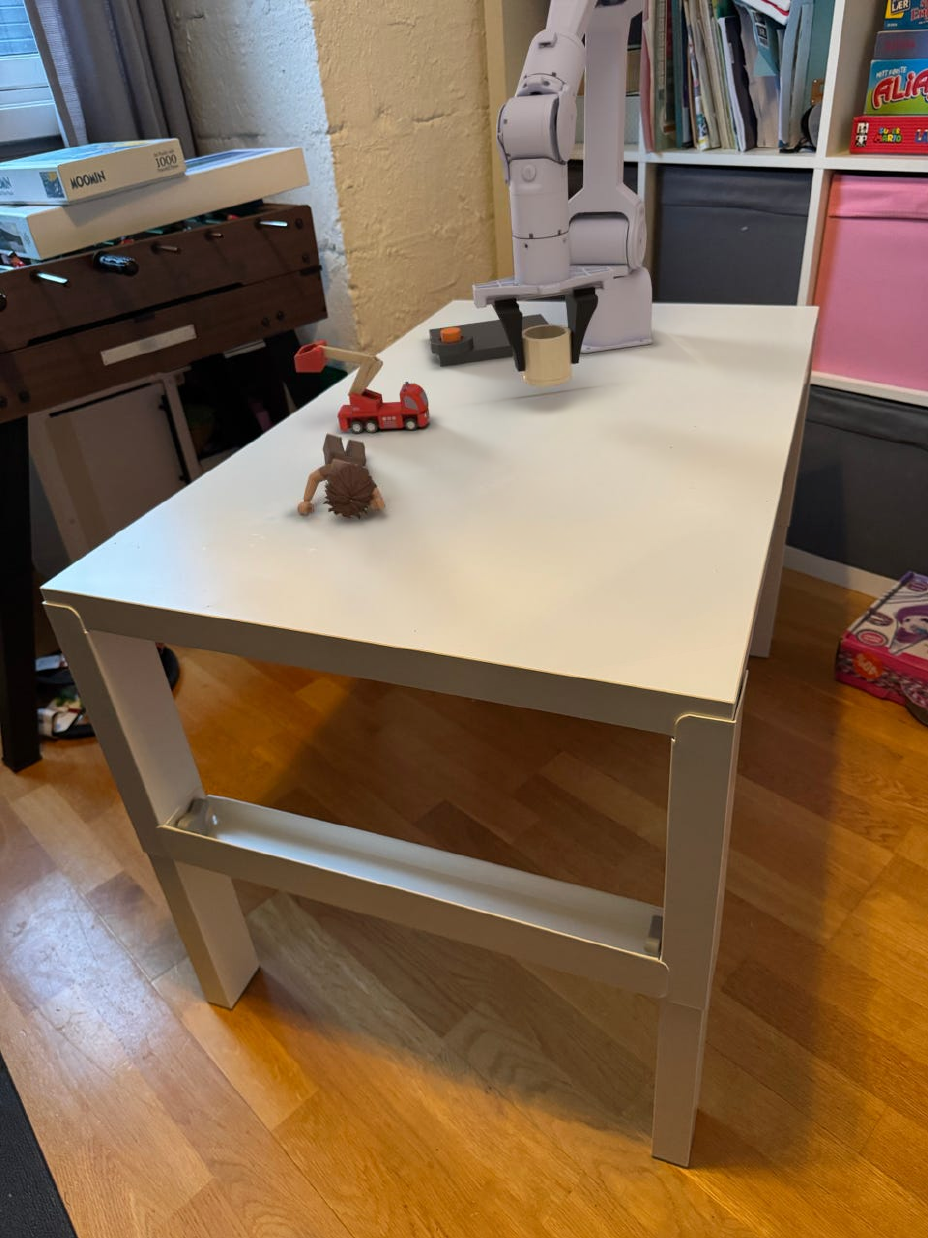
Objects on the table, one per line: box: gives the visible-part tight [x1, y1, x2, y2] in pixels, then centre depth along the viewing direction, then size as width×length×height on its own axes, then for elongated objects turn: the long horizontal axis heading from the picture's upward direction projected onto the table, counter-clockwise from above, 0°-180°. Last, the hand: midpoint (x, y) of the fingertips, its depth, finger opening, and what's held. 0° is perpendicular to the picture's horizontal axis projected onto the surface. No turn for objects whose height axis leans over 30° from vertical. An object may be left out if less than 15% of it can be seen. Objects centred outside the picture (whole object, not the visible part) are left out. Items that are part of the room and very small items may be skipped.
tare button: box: [441, 326, 461, 342], centre depth 114 cm, size 3×3×1 cm
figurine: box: [296, 433, 386, 520], centre depth 85 cm, size 8×5×15 cm
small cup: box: [521, 323, 573, 387], centre depth 96 cm, size 5×6×5 cm
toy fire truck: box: [293, 340, 431, 434], centre depth 97 cm, size 3×14×10 cm, turn 84°
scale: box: [428, 313, 549, 368], centre depth 118 cm, size 17×13×3 cm
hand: (546, 364), depth 96 cm, fingers closed on small cup, 5 cm apart
